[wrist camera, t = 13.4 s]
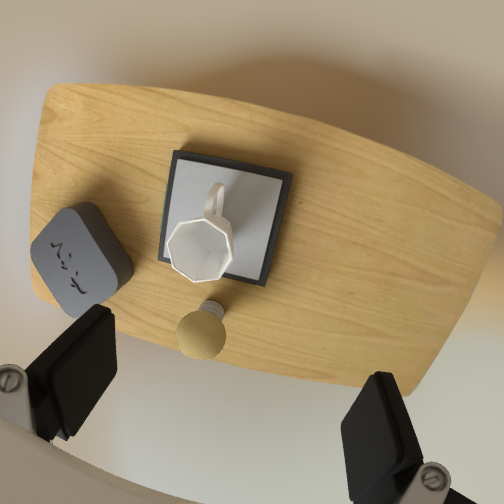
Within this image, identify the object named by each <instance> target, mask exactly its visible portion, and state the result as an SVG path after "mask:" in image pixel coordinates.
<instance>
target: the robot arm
mask: <svg viewBox="0 0 504 504" xmlns="http://www.w3.org/2000/svg"><path fill="white" fill-rule="evenodd" d="M116 372H117V356H116V339H115V316H114V314H113V313H111V309H110V308H108V307H105V306H102V305H99V304H94V305H93V306H92V307H91V308H90V309H88V310H87V311H86V312H85V313H84V314H83V315H82V316H81V317H80V318H78V319H77V320H76V321H75V322H74V323H73V324H72V325H71V326H70V327H69V328H68V329H67V330H65V331H64V332H63V333H62V334H61V335H60V336H59V337H58V338H57V339H56V340H55V341H54V342H53V343H52V344H51V345H50V346H49V347H48V348H47V349H46V350H44V351H43V352H42V353H41V354H40V355H39V356H38V357H37V358H36V359H35V360H34V361H33V362H32V363H31V364H30V365H29V366H28V367H27V368H26V369H25V370H23V369H22V368H21V367H19V366H17V365H14V364H5V365H1V366H0V504H202V503H197V502H193V501H189V500H186V499H182V498H179V497H175V496H172V495H168V494H165V493H162V492H158V491H156V490H153V489H150V488H146V487H144V486H141V485H138V484H136V483H133V482H130V481H128V480H125V479H123V478H120V477H118V476H115V475H113V474H111V473H108V472H106V471H104V470H102V469H99V468H97V467H95V466H93V465H91V464H89V463H87V462H85V461H83V460H81V459H79V458H77V457H74V456H73V455H70V454H69V453H67V452H65V451H63V450H61V449H59V448H58V447H56V446H54V445H53V443H52V440H53V439H54V437H55V436H58V437H60V438H62V439H63V440H65V441H67V440H68V439H69V437H70V436H75V435H76V433H77V432H78V430H79V429H80V427H81V426H82V424H83V423H84V421H85V420H86V418H87V417H88V415H89V414H90V412H91V411H92V409H93V408H94V406H95V405H96V403H97V402H98V400H99V399H100V397H101V396H102V394H103V393H104V391H105V390H106V389H107V387H108V386H109V384H110V383H111V381H112V380H113V378H114V377H115V375H116ZM341 435H342V442H343V449H344V457H345V465H346V473H347V482H348V489H349V498H350V500H351V501H353V504H477V503H475V502H473V501H472V500H470V499H468V498H466V497H465V496H463V495H462V494H460V493H458V492H456V491H455V490H453V489H452V488H450V485H451V476H450V474H449V472H448V470H447V469H446V468H445V467H444V466H442V465H441V464H439V463H436V462H428V463H425V464H424V462H423V455H422V451H421V448H420V445H419V443H418V440H417V437H416V434H415V431H414V429H413V426H412V423H411V420H410V417H409V415H408V412H407V409H406V407H405V404H404V402H403V399H402V396H401V394H400V391H399V389H398V386H397V384H396V381H395V379H394V376H393V374H392V373H389V372H380V371H377V372H375V373H374V375H370V376H369V378H368V380H367V381H366V383H365V385H364V387H363V388H362V390H361V392H360V393H359V395H358V397H357V398H356V400H355V402H354V403H353V405H352V406H351V408H350V410H349V411H348V413H347V414H346V416H345V418H344V419H343V421H342V423H341Z"/></svg>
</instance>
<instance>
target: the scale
mask: <svg viewBox="0 0 504 504" xmlns="http://www.w3.org/2000/svg"><path fill="white" fill-rule="evenodd" d="M292 175H293V174H292V173H290V172H286V171H281V170H277V169H273V168H269V167H264V166H260V165H255V164H250V163H246V162H241V161H236V160H231V159H226V158H221V157H216V156H210V155H205V154H199V153H193V152H187V151H181V150H173V156H172V161H171V167H170V173H169V179H168V184H167V186H166V192H165V199H164V206H163V213H162V221H161V235H160V244H159V253H158V260H159V261H163V262H166V263H170V264H172V263H171V259H170V256H169V252H168V248H167V244H166V243H167V241H168V240H169V238H170V236H171V234H172V233H173V231H174V229H175V228H176V226H177V224H178V223H179V222H181V221H185V220H190V219H193V218H198V217H203V214H204V208H205V203H206V200H207V196H208V194H209V191H210V189H211V187H212V186H213V184H214V183H216V182H219V183H223V184H224V205H223V212H222V217H224V218H225V219H227V220H228V221H229V222H230V223H231V228H232V233H233V236H232V238H233V242H234V250H233V261H232V262H231V263H230V265H229V266H228V268H227V269H226V270H225V272H224V273H223V275H222V276H221V277H225V278H230V279H234V280H238V281H242V282H246V283H250V284H254V285H259V286H263V287H265V284H266V280H267V276H268V272H269V268H270V264H271V260H272V257H273V253H274V249H275V245H276V241H277V237H278V233H279V229H280V225H281V221H282V217H283V212H284V208H285V204H286V200H287V196H288V192H289V188H290V184H291V179H292ZM216 207H217V195H216V198H215V201H214V205H213V212H212V215H215V214H216Z"/></svg>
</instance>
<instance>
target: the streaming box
mask: <svg viewBox="0 0 504 504" xmlns="http://www.w3.org/2000/svg"><path fill="white" fill-rule="evenodd" d="M30 253H31V258H32V261H33V263H34V265H35V267H36V269H37V270H38V272H39V274H40V275H41V277H42V279H43V280H44V282H45V283H46V285H47V287H48V288H49V290H50V291H51V293H52V294H53V296H54V297H55V299H56V300H57V302H58V303H59V305H60V306H61V308H62V309H63V310H64V311H65V313H67V314H68V315H69V316H71V317H73V318H80V317H81V316H82V315H83V314H84V313H85V312H86V311H87V310H88V309H90V308H91V307H92V306H93V305H94V304H100V303H102V302H103V301H105V300H106V299H108V298H109V297H111V296H112V295H113V294H115V293H116V292H117V291H118V290H119V289H120V288H121V287H122V286H123V285H125V284H126V283H127V282H128V281H129V280H130V278H131V276H132V272H133V269H132V264H131V261H130V259H129V257H128V256H127V254H126V253H125V251H124V250H123V248H122V247H121V245H120V244H119V242H118V241H117V239H116V238H115V236H114V234H113V233H112V231H111V230H110V228H109V226H108V225H107V223H106V222H105V220H104V218H103V217H102V215H101V213H100V212H99V210H98V209H97V207H96V206H95V205H93V204H92V203H90V202H82V203H79V204H76V205H72V206H69V207H66V208H63V209H61V210H60V211H59V212H58V213H57V214H56V215H55V216H54V218H53V219H52V220H51V221H50V222H49V223H48V224H47V226H46V227H45V228H44V229H43V230H42V231H41V233H40V234H39V235H38V236H37V237H36V238H35V240H34V241H33V242H32V244H31V249H30Z"/></svg>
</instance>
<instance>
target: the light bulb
mask: <svg viewBox="0 0 504 504" xmlns="http://www.w3.org/2000/svg"><path fill="white" fill-rule="evenodd" d="M223 316H224V310H223V308H222V306H221V305H220V304H219V303H217V302H215V301H211V300H208V301H205V302H203V303H202V304H201V305H200V307H199V309H198V311H194V312H191V313H189V314H187V315H186V316H185V317H183V318H182V320H181V321H180V322H179V324H178V327H177V332H176V338H177V342H178V345H179V347H180V349H181V350H182V352H183V353H184V354H185V355H187V356H188V357H191V358H194V359H199V360H207V359H211V358H213V357H215V356H216V355H218V354H219V353H220V351H221V350H222V349H223V346H224V344H225V340H226V331H225V327H224V325H223V323H222V322H221V321H222V319H223Z"/></svg>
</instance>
